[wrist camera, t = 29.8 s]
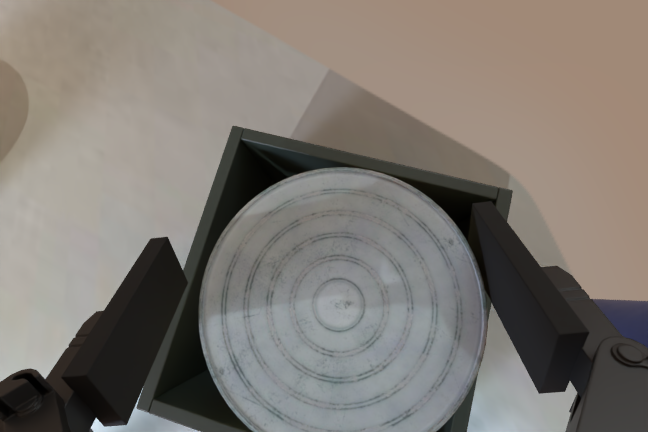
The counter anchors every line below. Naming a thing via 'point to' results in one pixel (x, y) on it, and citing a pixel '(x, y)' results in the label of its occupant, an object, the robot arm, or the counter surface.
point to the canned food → (343, 307)
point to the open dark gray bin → (222, 206)
